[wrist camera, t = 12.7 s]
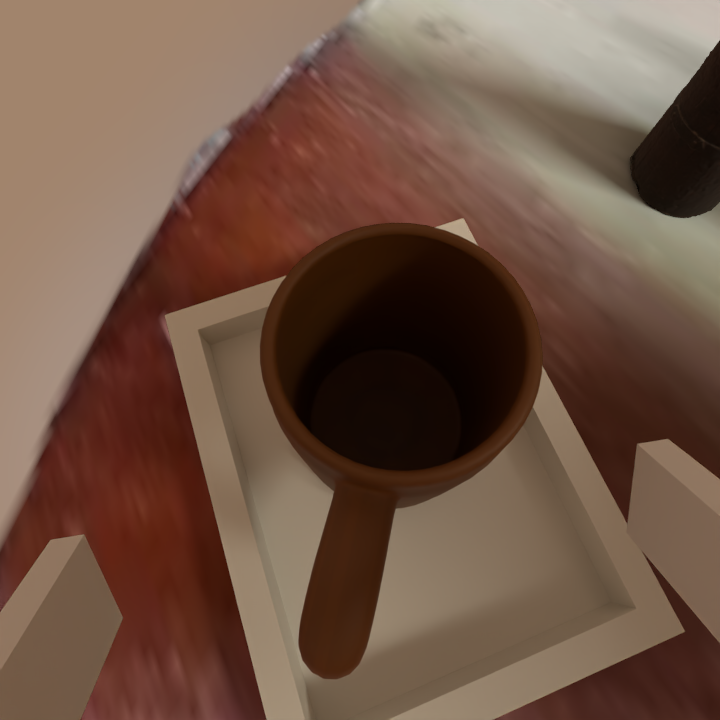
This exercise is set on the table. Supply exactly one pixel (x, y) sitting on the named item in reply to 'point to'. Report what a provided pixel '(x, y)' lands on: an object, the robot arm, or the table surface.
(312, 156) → the table surface
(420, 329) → the mug
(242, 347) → the tray
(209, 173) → the table surface
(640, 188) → the butter churn
